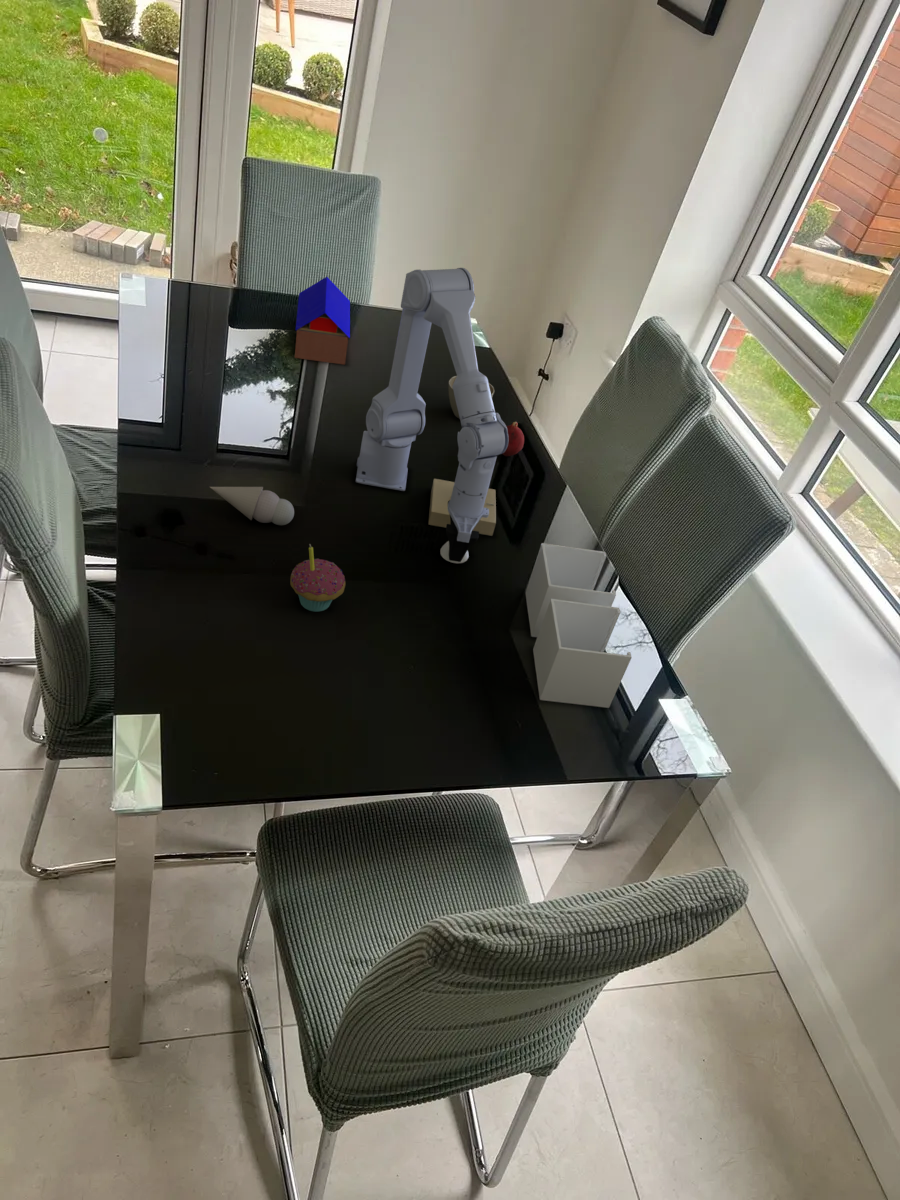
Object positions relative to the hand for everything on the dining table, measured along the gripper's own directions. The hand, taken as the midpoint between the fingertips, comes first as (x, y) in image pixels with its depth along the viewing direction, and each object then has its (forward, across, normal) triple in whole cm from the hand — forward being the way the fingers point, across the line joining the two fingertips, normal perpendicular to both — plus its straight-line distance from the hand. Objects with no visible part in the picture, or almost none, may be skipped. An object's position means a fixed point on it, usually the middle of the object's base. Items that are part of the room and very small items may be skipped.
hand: (455, 549), depth 160 cm
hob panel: (+1, +14, -1) cm, 14 cm away
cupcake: (+2, -18, +22) cm, 28 cm away
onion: (+2, +37, -10) cm, 38 cm away
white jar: (+2, 0, 0) cm, 2 cm away
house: (+2, +72, +34) cm, 80 cm away
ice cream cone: (+2, +1, +36) cm, 36 cm away
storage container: (+2, -19, -19) cm, 27 cm away
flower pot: (+2, +51, -1) cm, 51 cm away
